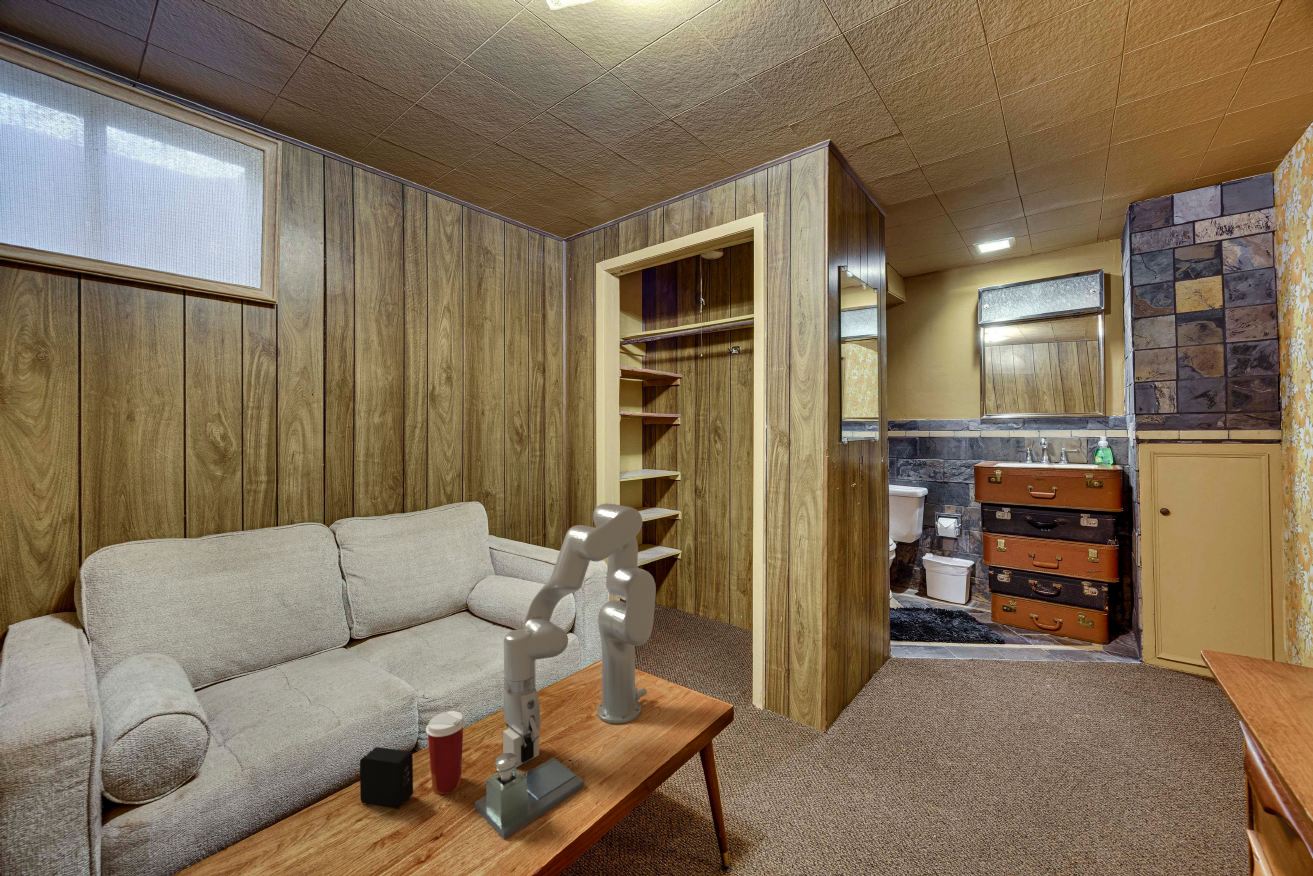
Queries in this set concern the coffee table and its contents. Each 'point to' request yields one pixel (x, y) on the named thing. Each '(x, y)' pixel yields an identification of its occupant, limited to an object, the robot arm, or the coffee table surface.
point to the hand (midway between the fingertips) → (521, 753)
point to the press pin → (506, 766)
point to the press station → (526, 795)
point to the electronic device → (386, 777)
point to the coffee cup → (445, 750)
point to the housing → (516, 744)
